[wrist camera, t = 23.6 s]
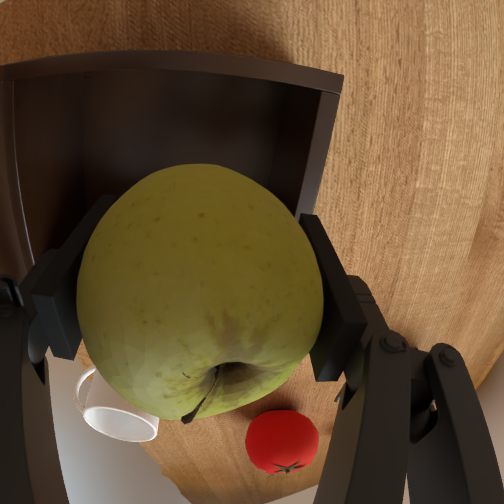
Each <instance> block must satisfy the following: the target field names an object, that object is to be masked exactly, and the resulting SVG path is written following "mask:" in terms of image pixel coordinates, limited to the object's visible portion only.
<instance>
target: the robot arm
mask: <svg viewBox="0 0 504 504" xmlns="http://www.w3.org/2000/svg"><path fill="white" fill-rule="evenodd" d="M117 200H118V195H104V194H102V195H101V196H100V198H99V199H98V200H97V201H96V202H95V204H94V205H93V206H92V207H91V209H90V210H89V211H88V212H87V214H86V215H85V216H84V217H83V219H82V220H81V221H80V222H79V224H78V225H77V226H76V228H75V229H74V230H73V232H72V233H71V234H70V236H69V237H68V238H67V240H66V241H65V242H64V244H63V245H62V246H61V248H60V249H53V248H51V249H49V250H48V251H46V252H45V253H43V254H42V255H41V256H40V257H39V258H38V260H37V261H36V262H35V264H34V266H33V267H32V268H31V269H30V271H29V273H27V275H26V276H25V278H24V279H23V281H22V282H21V283H20V285H19V286H18V283H17V280H16V279H15V278H14V276H12V275H9V274H0V504H69V500H68V497H67V493H66V488H65V484H64V480H63V476H62V471H61V466H60V461H59V455H58V450H57V444H56V438H55V431H54V424H53V416H52V408H51V397H50V385H49V370H48V361H47V358H46V356H45V353H46V351H47V348H48V346H50V348H51V351H52V353H53V355H54V357H59V358H63V359H68V360H73V361H74V358H75V356H76V353H77V350H78V348H79V345H80V342H81V340H82V333H81V329H80V325H79V321H78V317H77V306H76V297H77V280H78V275H79V270H80V267H81V263H82V259H83V254H84V251H85V249H86V246H87V244H88V242H89V239H90V237H91V235H92V233H93V232H94V230H95V228H96V226H97V225H98V223H99V222H100V220H101V219H102V217H103V216H104V215H105V213H106V212H107V211H108V209H109V208H110V207H111V206H112V205H113V204H114V203H115V202H116V201H117ZM298 223H299V225H300V226H301V228H302V229H303V231H304V233H305V234H306V236H307V238H308V240H309V242H310V244H311V246H312V248H313V251H314V253H315V257H316V260H317V264H318V268H319V271H320V275H321V278H322V287H323V299H324V303H323V318H322V324H321V329H320V331H319V334H318V337H317V339H316V342H315V344H314V345H313V347H312V348H311V350H310V351H309V354H310V358H311V363H312V367H313V371H314V376H315V380H316V382H325V381H338V379H339V377H340V375H341V374H342V372H343V371H344V374H345V377H346V382H345V384H344V385H343V387H342V388H341V390H340V392H339V393H338V395H337V396H336V398H335V400H334V402H338V400H339V399H340V400H339V405H338V410H337V415H336V419H335V423H334V428H333V432H332V436H331V440H330V444H329V448H328V452H327V456H326V460H325V464H324V468H323V471H322V475H321V478H320V482H319V485H318V489H317V492H316V496H315V499H314V502H313V504H402V501H403V495H404V487H405V479H406V473H407V480H408V489H409V498H410V504H504V488H503V483H502V479H501V474H500V471H499V466H498V462H497V458H496V455H495V451H494V447H493V444H492V440H491V437H490V434H489V430H488V427H487V424H486V421H485V418H484V414H483V411H482V408H481V405H480V403H479V400H478V397H477V394H476V391H475V388H474V386H473V383H472V380H471V378H470V375H469V373H468V370H467V368H466V365H465V363H464V360H463V358H462V356H461V355H460V353H459V352H458V351H457V350H456V349H455V348H454V347H452V346H450V345H449V344H445V343H437V344H435V345H434V346H433V347H432V348H431V350H430V351H429V352H425V351H420V350H416V349H412V348H409V344H408V342H407V341H406V340H405V338H404V337H402V336H401V335H400V334H399V333H397V332H395V331H392V330H389V328H388V326H387V324H386V322H385V319H384V317H383V315H382V313H381V311H380V309H379V307H378V305H377V304H376V301H375V299H374V297H373V296H372V293H371V291H370V289H369V288H368V286H367V284H366V283H365V282H364V281H363V280H362V279H361V278H360V277H359V276H353V275H346V273H345V271H344V268H343V266H342V264H341V262H340V260H339V258H338V256H337V254H336V252H335V250H334V248H333V246H332V244H331V242H330V240H329V238H328V236H327V234H326V232H325V230H324V228H323V226H322V224H321V222H320V220H319V218H318V216H317V215H312V214H304V213H300V217H299V222H298ZM434 402H435V404H436V408H437V410H435V408H434V405H433V403H434Z"/></svg>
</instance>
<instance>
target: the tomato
mask: <svg viewBox="0 0 504 504" xmlns="http://www.w3.org/2000/svg"><path fill="white" fill-rule="evenodd" d="M318 442H319V434H318V431H317V429H316V428H315V426H314V425H313V423H312V422H311V420H310V419H309V418H307V417H306V416H304V415H302V414H300V413H298V412H295V411H292V410H275V411H267V412H265V413H263V414H261V415H259V416H257V417H256V418H255V419H254V420H253V421H252V422H251V423H250V425H249V428H248V431H247V435H246V439H245V445H246V450H247V453H248V455H249V457H250V460H251V462H252V463H253V464H254V465H255V466H256V467H257V468H258V469H261V470H263V471H265V472H267V473H268V474H272V475H271V476H273V475H275V474H279V473H283V472H286V474H287V473H290V472H295V471H298V470H301V469H302V468H304V467H305V466H307V465H309V464H310V463H311V461H312V460H313V458H314V456H315V454H316V452H317V447H318ZM271 476H269V477H271ZM269 477H268V478H269Z"/></svg>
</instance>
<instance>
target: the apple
mask: <svg viewBox="0 0 504 504" xmlns="http://www.w3.org/2000/svg"><path fill="white" fill-rule="evenodd" d="M323 303H324V299H323V287H322V278H321V275H320V271H319V268H318V264H317V260H316V257H315V253H314V251H313V248H312V246H311V244H310V242H309V240H308V238H307V236H306V234H305V233H304V231H303V229H302V228H301V226H300V225H299V223H298V222H297V220H296V219H295V218H294V216H293V215H292V214H291V213H290V211H289V210H288V209H287V207H286V206H285V205H284V204H283V203H282V202H281V201H280V200H279V199H278V198H276V197H275V196H274V195H273V194H272V193H271V192H269V191H268V190H267V189H265V188H264V187H262V186H261V185H259V184H258V183H256V182H255V181H253V180H251V179H250V178H248V177H246V176H244V175H242V174H240V173H238V172H235V171H233V170H231V169H228V168H225V167H222V166H219V165H212V164H185V165H177V166H173V167H169V168H165V169H162V170H159V171H157V172H154V173H152V174H150V175H149V176H147V177H145V178H144V179H142V180H140V181H139V182H138V183H137V184H135V185H134V186H133V187H131V188H130V189H129V190H128V191H127V192H126V193H125V194H123V195H122V196H121V197H120V198H119V199H118V200H117V201H116V202H115V203H114V204H113V205H112V206H111V207H110V208H109V209H108V211H107V212H106V213H105V215H104V216H103V217H102V219H101V220H100V222H99V223H98V225H97V226H96V228H95V230H94V232H93V233H92V235H91V237H90V239H89V242H88V244H87V246H86V249H85V251H84V254H83V259H82V263H81V267H80V270H79V275H78V280H77V297H76V306H77V317H78V321H79V325H80V329H81V333H82V337H83V341H84V344H85V346H86V349H87V352H88V354H89V356H90V358H91V360H92V362H93V363H94V365H95V367H96V368H97V370H98V371H99V373H100V374H101V376H102V377H103V378H104V379H105V381H106V382H107V383H108V384H109V385H110V387H111V388H112V389H113V390H114V391H115V392H116V393H117V394H118V395H119V396H121V397H122V398H123V399H124V400H126V401H127V402H128V403H129V404H131V405H133V406H134V407H136V408H137V409H139V410H141V411H143V412H146V413H148V414H150V415H153V416H156V417H159V418H162V419H167V420H181V421H182V422H183V423H184V424H187V423H190V422H191V421H192V420H193V419H195V418H204V417H208V416H212V415H216V414H220V413H223V412H227V411H230V410H233V409H236V408H238V407H241V406H243V405H246V404H248V403H251V402H253V401H256V400H258V399H260V398H262V397H264V396H265V395H267V394H269V393H271V392H272V391H274V390H275V389H277V388H278V387H279V386H281V385H282V384H283V383H285V382H286V380H287V379H288V378H289V377H290V375H291V374H292V372H293V371H294V369H295V368H296V366H297V365H298V364H299V363H300V362H301V360H302V359H303V358H304V357H305V356H306V355H307V354H308V353H309V351H310V350H311V348H312V347H313V345H314V344H315V342H316V339H317V337H318V334H319V331H320V329H321V324H322V318H323Z"/></svg>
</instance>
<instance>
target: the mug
mask: <svg viewBox="0 0 504 504" xmlns="http://www.w3.org/2000/svg"><path fill="white" fill-rule="evenodd" d="M93 372H94V376H93V379H92V382H91V386H90V389H89V393H88V397H87V400H86V403H85V406H83V405H82V404H81V403H80V401H79V399H78V391H79V388H80V385H81V383H82V382H83V381H84V379H85V378H86V377H87V376H88V375H90V374H91V373H93ZM73 399H74V402H75V405H76V407H77V408H78V409H79V411H81V412H82V413H83V417H84V419H85V421H86V422H87V423H88V424H89V425H90V426H91V427H93V428H94V429H96V430H98V431H99V432H101V433H103V434H105V435H108V436H110V437H113V438H116V439H120V440H125V441H132V442H143V441H149V440H152V439H153V438H155V437H156V435H157V431H158V422H159V417H156V416H153V415H150V414H148V413H146V412H143V411H141V410H139V409H137V408H136V407H134V406H133V405H131V404H129V403H128V402H127V401H126V400H124V399H123V398H122V397H121V396H119V395H118V394H117V393H116V392H115V391H114V390H113V389H112V388H111V387H110V385H109V384H108V383H107V382H106V381H105V379H104V378H103V377H102V376H101V374H100V373H99V371H98V370H97V368H96V367H95V365H94V364H93V365H92V366H90V367H88V368H87V369H86V370H85V371H84V372H83V373H82V374H81V375H80V376H79V378H78V379H77V381H76V383H75V386H74V390H73Z"/></svg>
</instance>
